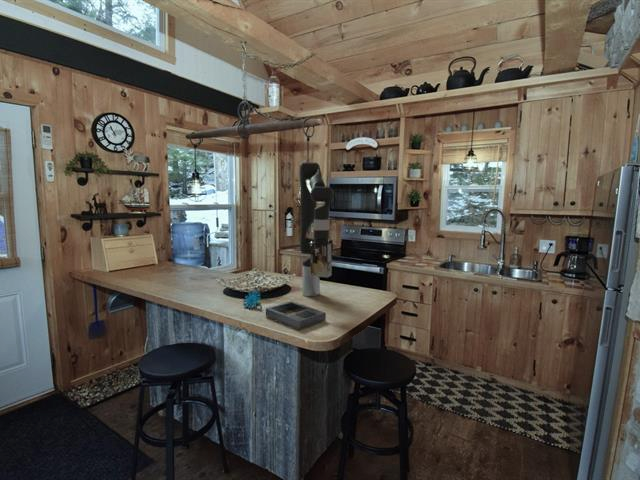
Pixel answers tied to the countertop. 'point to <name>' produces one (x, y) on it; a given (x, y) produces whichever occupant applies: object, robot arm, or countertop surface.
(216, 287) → the countertop surface
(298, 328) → the gray rectangular frame
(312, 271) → the coffee box
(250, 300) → the gear
